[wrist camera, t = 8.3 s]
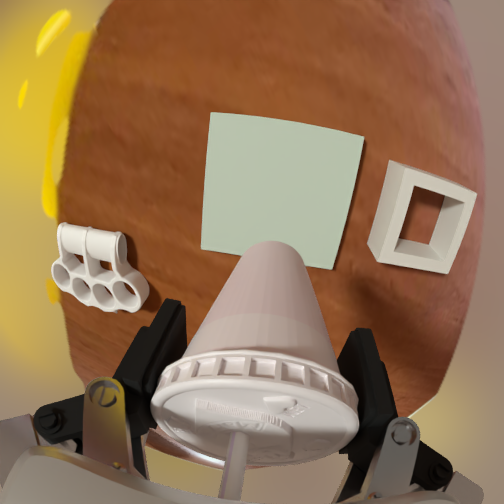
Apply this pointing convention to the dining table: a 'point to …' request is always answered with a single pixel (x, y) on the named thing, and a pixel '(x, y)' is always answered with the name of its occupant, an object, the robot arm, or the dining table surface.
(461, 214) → the drink caddy
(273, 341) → the smoothie
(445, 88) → the dining table surface
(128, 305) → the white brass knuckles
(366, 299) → the dining table surface
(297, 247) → the serving mat
